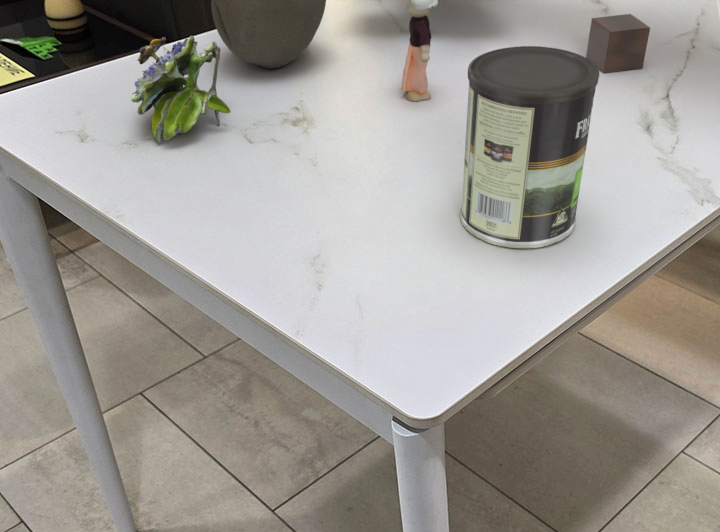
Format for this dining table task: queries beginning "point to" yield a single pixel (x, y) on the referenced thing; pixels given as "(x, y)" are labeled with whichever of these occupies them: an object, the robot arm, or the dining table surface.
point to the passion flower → (176, 87)
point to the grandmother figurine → (418, 50)
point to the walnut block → (617, 43)
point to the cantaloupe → (267, 28)
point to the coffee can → (526, 144)
